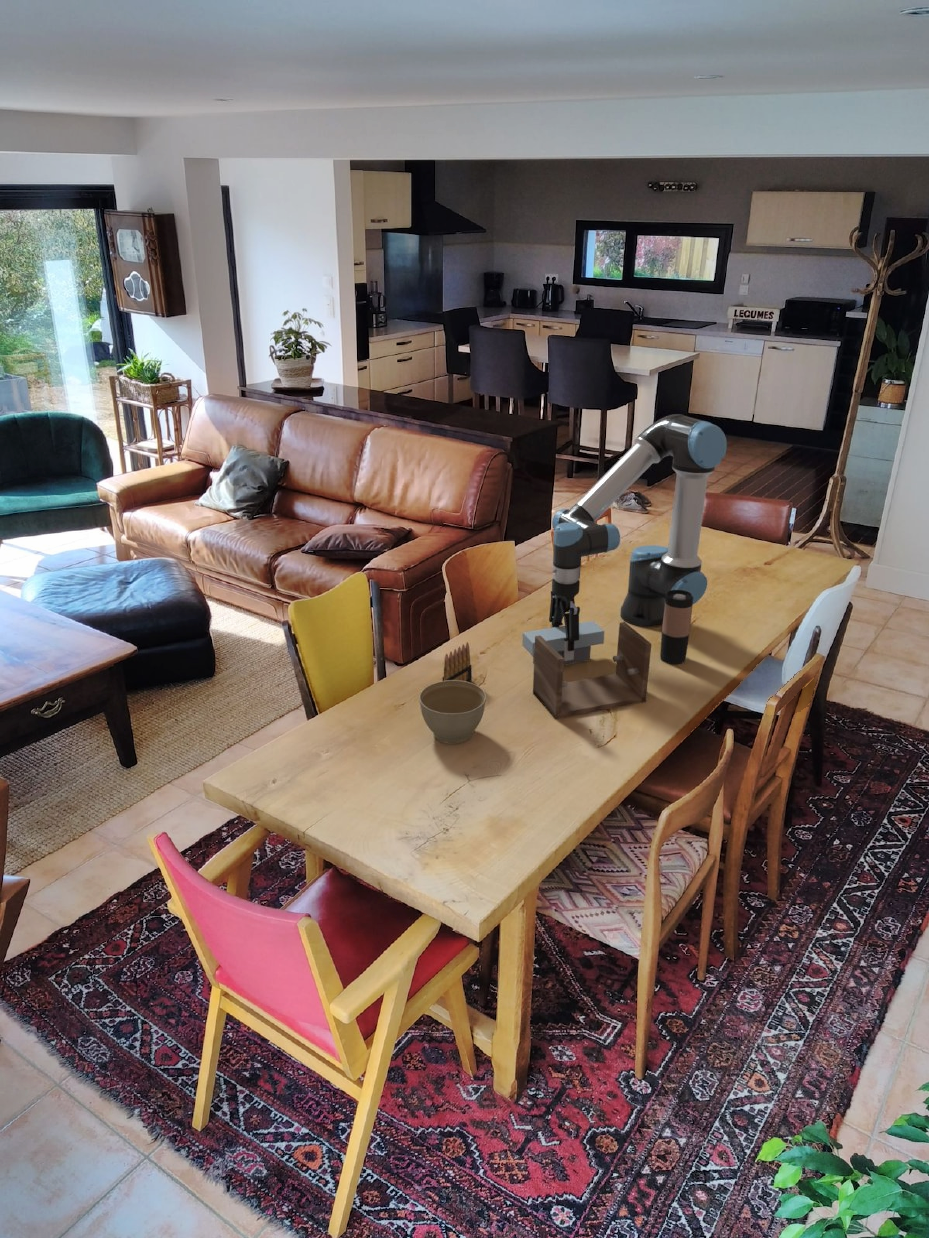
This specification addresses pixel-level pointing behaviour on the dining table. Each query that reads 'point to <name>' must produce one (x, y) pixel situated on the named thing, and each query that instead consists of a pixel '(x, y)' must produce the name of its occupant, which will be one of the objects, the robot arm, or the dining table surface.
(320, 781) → the dining table surface
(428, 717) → the planter bowl
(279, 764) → the dining table surface
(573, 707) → the shelf frame
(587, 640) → the shelf board
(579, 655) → the grey rectangular block
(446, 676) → the ammunition clip
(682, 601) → the travel mug
